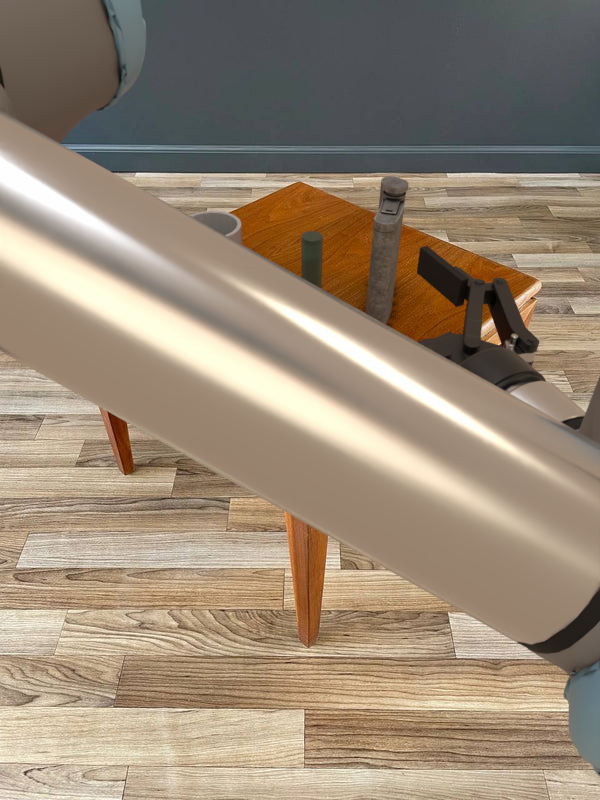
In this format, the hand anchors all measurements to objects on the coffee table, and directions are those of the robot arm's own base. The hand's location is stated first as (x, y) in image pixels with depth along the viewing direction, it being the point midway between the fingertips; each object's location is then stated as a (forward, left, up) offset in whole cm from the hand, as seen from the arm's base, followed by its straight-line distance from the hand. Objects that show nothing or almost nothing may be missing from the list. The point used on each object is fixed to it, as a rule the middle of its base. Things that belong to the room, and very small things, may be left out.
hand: (358, 275), depth 59 cm
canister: (-21, +31, -21) cm, 43 cm away
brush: (-5, +8, -21) cm, 23 cm away
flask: (+4, +27, -21) cm, 35 cm away
